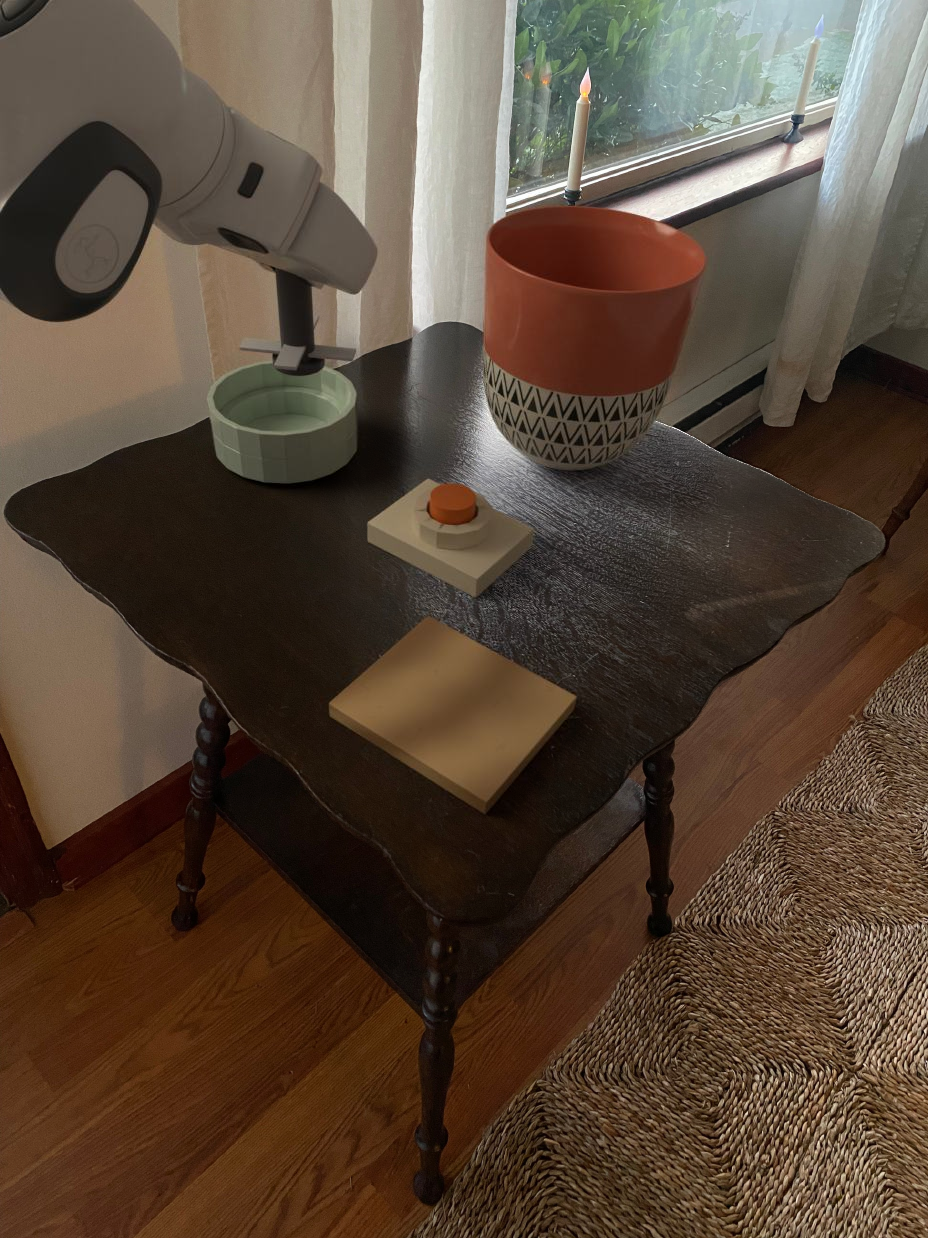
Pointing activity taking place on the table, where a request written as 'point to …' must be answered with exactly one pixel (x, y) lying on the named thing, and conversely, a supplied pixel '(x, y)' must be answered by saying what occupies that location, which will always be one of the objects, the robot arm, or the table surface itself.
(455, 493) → the release button
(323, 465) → the processor bowl
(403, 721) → the cutting board
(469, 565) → the base
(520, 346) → the planter
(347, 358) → the blade
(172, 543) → the table surface
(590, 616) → the table surface
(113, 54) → the robot arm
